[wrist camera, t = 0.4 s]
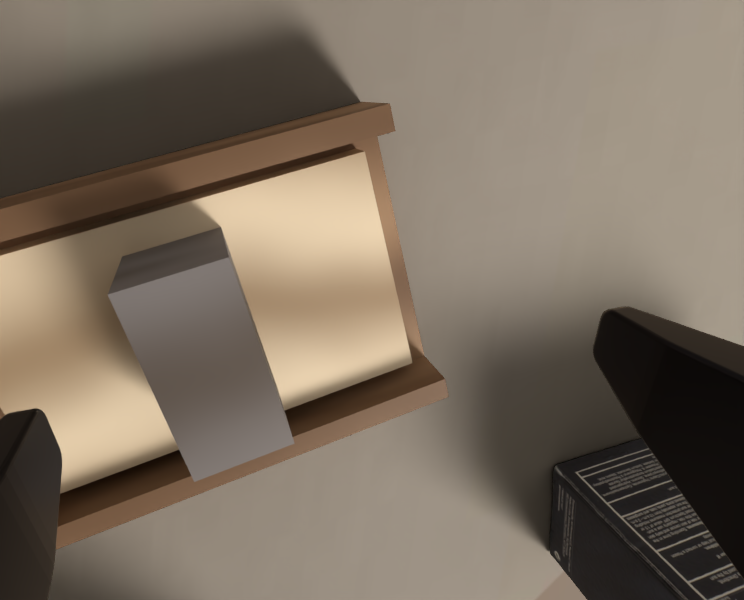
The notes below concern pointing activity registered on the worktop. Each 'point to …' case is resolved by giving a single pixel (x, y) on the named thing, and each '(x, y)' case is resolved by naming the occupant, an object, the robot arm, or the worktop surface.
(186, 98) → the worktop surface
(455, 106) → the worktop surface
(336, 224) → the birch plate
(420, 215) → the worktop surface
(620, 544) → the small box
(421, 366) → the walnut tray
